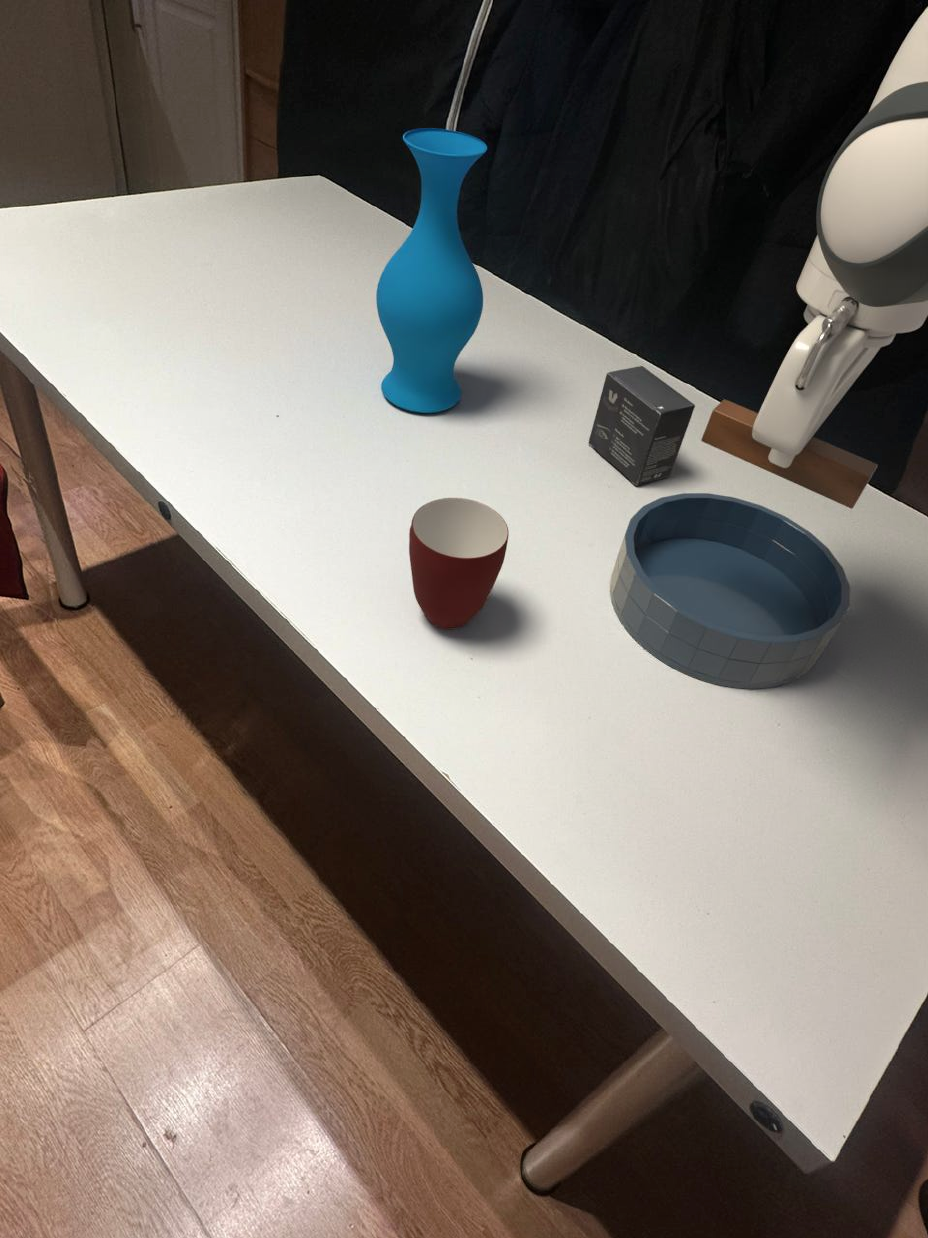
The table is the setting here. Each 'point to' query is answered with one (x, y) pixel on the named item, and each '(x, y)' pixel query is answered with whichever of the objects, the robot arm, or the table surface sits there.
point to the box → (640, 424)
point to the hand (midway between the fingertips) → (787, 451)
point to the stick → (810, 469)
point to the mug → (455, 558)
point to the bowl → (727, 590)
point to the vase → (431, 280)
